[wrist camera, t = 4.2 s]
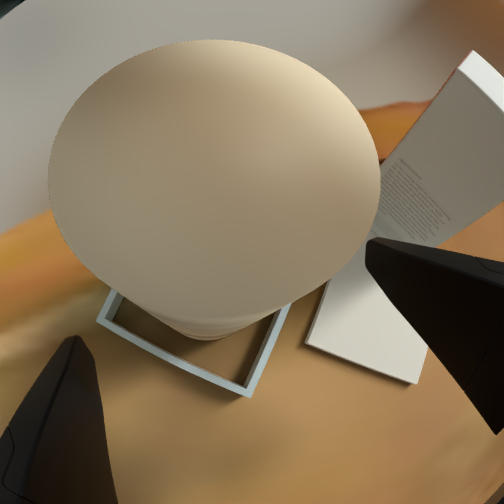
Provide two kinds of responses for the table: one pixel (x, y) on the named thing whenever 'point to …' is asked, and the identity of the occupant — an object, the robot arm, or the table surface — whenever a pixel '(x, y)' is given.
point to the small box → (447, 161)
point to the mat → (366, 324)
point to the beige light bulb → (213, 183)
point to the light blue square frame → (245, 390)
